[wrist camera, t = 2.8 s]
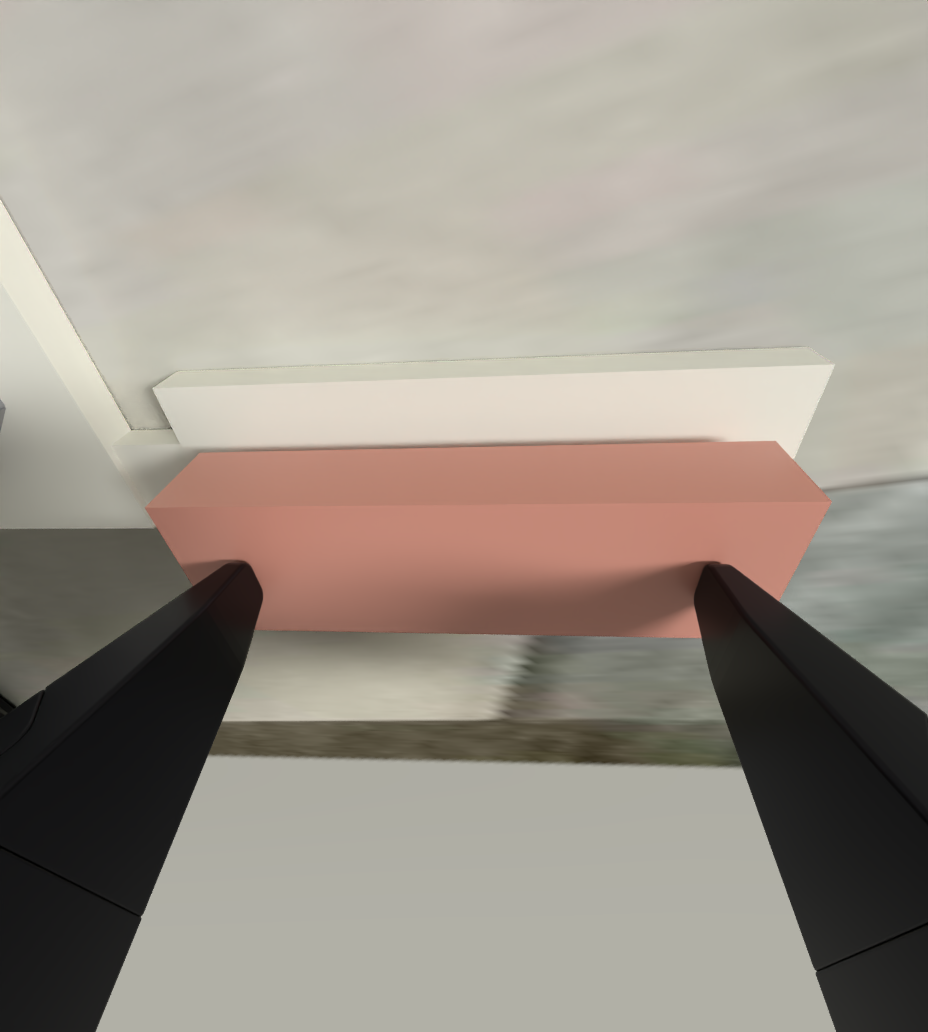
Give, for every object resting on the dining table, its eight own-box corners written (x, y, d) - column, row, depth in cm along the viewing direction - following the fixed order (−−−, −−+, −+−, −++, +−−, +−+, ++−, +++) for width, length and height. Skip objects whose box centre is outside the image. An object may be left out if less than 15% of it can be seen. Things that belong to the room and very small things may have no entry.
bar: (255, 568, 12) (219, 629, 11) (199, 452, 10) (144, 507, 9) (723, 570, 11) (758, 639, 10) (775, 440, 9) (831, 501, 8)
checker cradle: (-74, 555, 16) (-174, 626, 13) (-591, 71, 8) (-1017, 42, 6) (725, 557, 13) (772, 644, 11) (995, -129, 6) (1317, -311, 4)
